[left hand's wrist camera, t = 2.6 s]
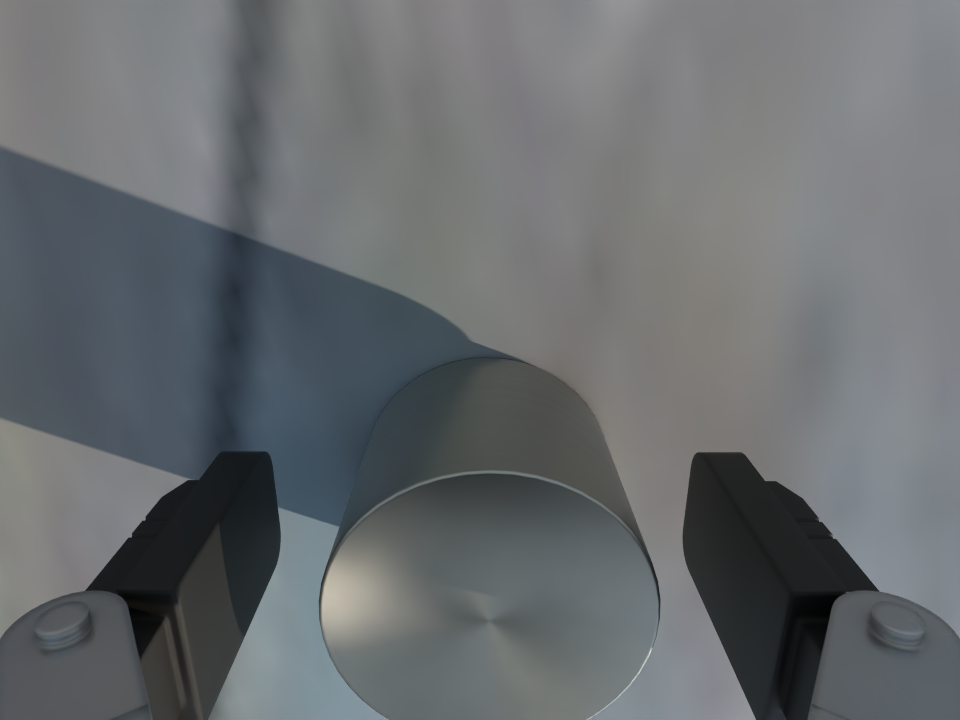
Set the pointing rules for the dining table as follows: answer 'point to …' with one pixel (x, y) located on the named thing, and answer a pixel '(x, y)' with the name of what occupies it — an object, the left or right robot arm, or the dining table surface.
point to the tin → (488, 555)
